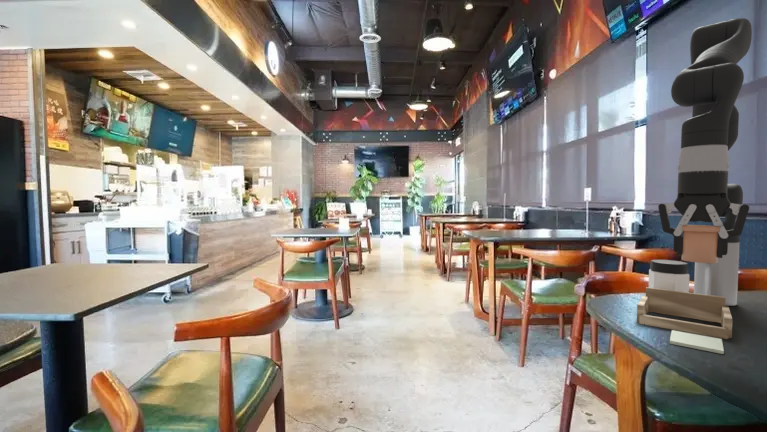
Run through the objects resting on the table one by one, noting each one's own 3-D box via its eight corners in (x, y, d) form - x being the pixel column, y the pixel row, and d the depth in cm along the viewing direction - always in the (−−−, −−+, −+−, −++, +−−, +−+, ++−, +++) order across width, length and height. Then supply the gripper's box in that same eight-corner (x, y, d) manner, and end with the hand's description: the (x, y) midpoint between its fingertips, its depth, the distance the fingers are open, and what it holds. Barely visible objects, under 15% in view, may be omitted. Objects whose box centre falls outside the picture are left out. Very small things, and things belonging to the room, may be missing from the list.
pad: (671, 332, 81) (671, 330, 81) (721, 341, 76) (721, 338, 76) (669, 343, 75) (669, 340, 75) (723, 354, 70) (723, 351, 70)
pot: (679, 257, 79) (681, 224, 79) (719, 260, 75) (720, 225, 75) (678, 261, 74) (680, 225, 74) (720, 264, 70) (722, 227, 70)
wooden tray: (642, 309, 99) (643, 286, 98) (727, 322, 88) (728, 297, 88) (636, 323, 88) (636, 297, 87) (732, 340, 77) (733, 311, 77)
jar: (692, 306, 102) (693, 262, 101) (683, 312, 96) (685, 265, 96) (652, 299, 108) (654, 258, 108) (643, 304, 103) (644, 261, 103)
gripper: (751, 170, 72) (747, 257, 73) (658, 173, 82) (656, 251, 82) (755, 167, 67) (751, 262, 67) (655, 170, 76) (652, 254, 77)
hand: (699, 255), depth 75 cm, fingers closed on pot, 5 cm apart
